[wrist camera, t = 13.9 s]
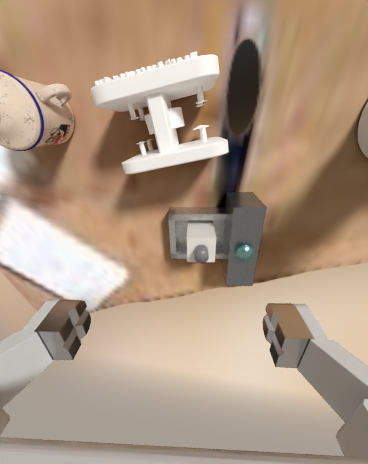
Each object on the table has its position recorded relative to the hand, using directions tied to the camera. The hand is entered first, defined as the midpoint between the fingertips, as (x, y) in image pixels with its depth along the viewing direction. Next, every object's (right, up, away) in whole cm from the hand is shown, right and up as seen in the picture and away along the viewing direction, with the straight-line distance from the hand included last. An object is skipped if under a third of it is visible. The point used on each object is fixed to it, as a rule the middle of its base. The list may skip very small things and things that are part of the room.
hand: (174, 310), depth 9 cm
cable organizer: (-2, +22, +24) cm, 33 cm away
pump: (+4, +4, +32) cm, 32 cm away
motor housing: (+6, +4, +33) cm, 34 cm away
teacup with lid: (-21, +24, +24) cm, 40 cm away
